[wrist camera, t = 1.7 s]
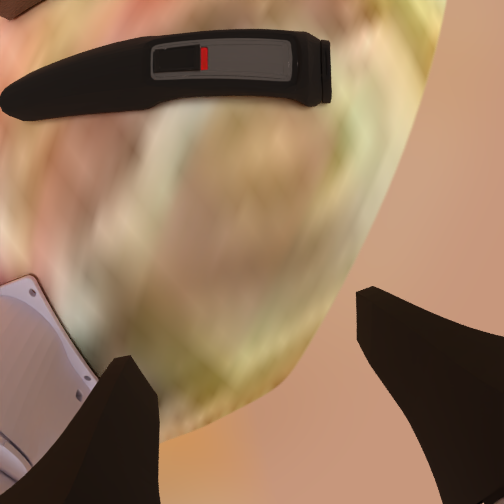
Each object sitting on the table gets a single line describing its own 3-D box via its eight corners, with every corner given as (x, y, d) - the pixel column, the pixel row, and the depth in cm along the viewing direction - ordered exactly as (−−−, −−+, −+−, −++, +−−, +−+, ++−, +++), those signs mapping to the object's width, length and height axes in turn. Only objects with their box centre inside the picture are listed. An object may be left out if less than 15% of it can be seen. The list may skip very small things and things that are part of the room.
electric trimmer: (30, 69, 10) (-2, 61, 7) (325, 43, 12) (353, 26, 9) (30, 134, 11) (-4, 139, 8) (326, 109, 13) (356, 107, 11)
